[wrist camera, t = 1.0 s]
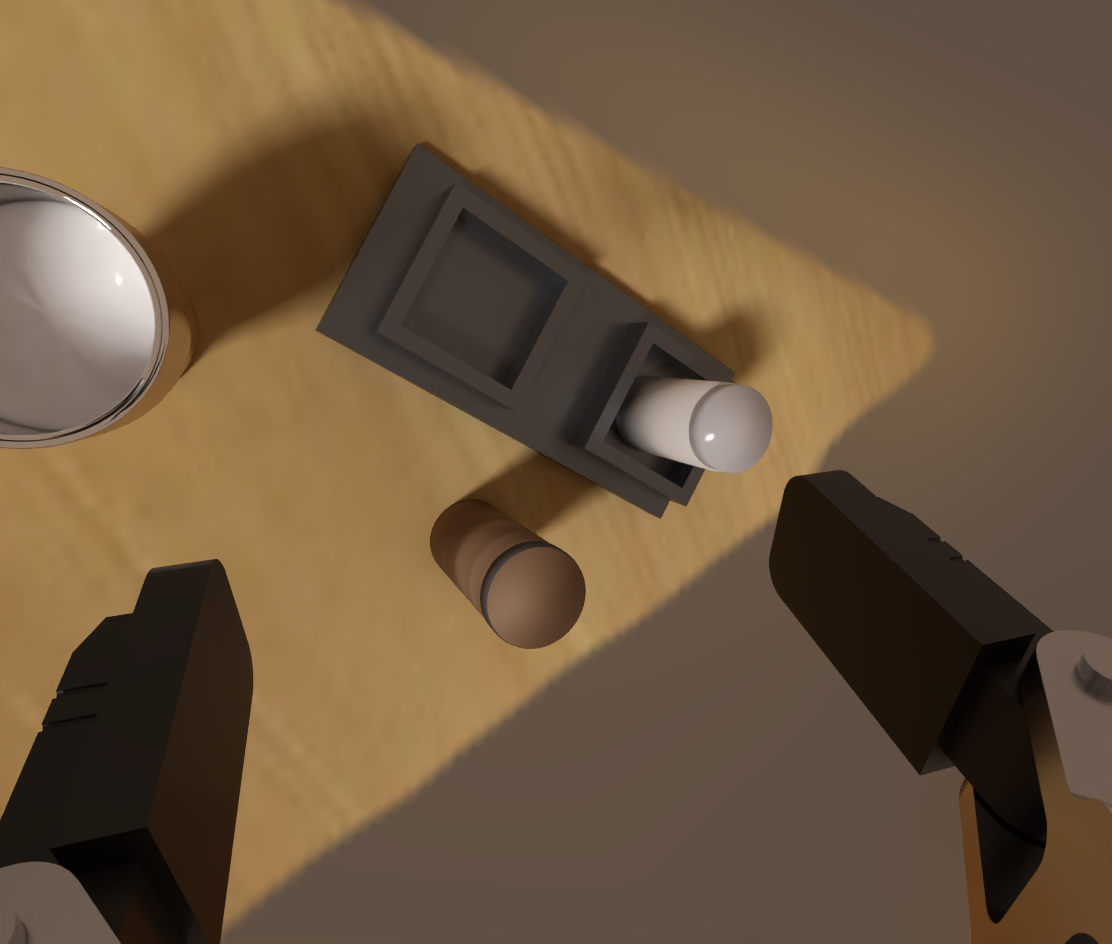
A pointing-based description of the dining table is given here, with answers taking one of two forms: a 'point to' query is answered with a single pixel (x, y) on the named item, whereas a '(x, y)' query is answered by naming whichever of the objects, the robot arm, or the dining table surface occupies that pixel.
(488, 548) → the brown wooden cylinder
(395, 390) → the dining table surface
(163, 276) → the beer glass
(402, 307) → the condiment caddy
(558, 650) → the dining table surface
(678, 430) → the salt shaker
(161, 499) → the dining table surface
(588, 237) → the dining table surface
